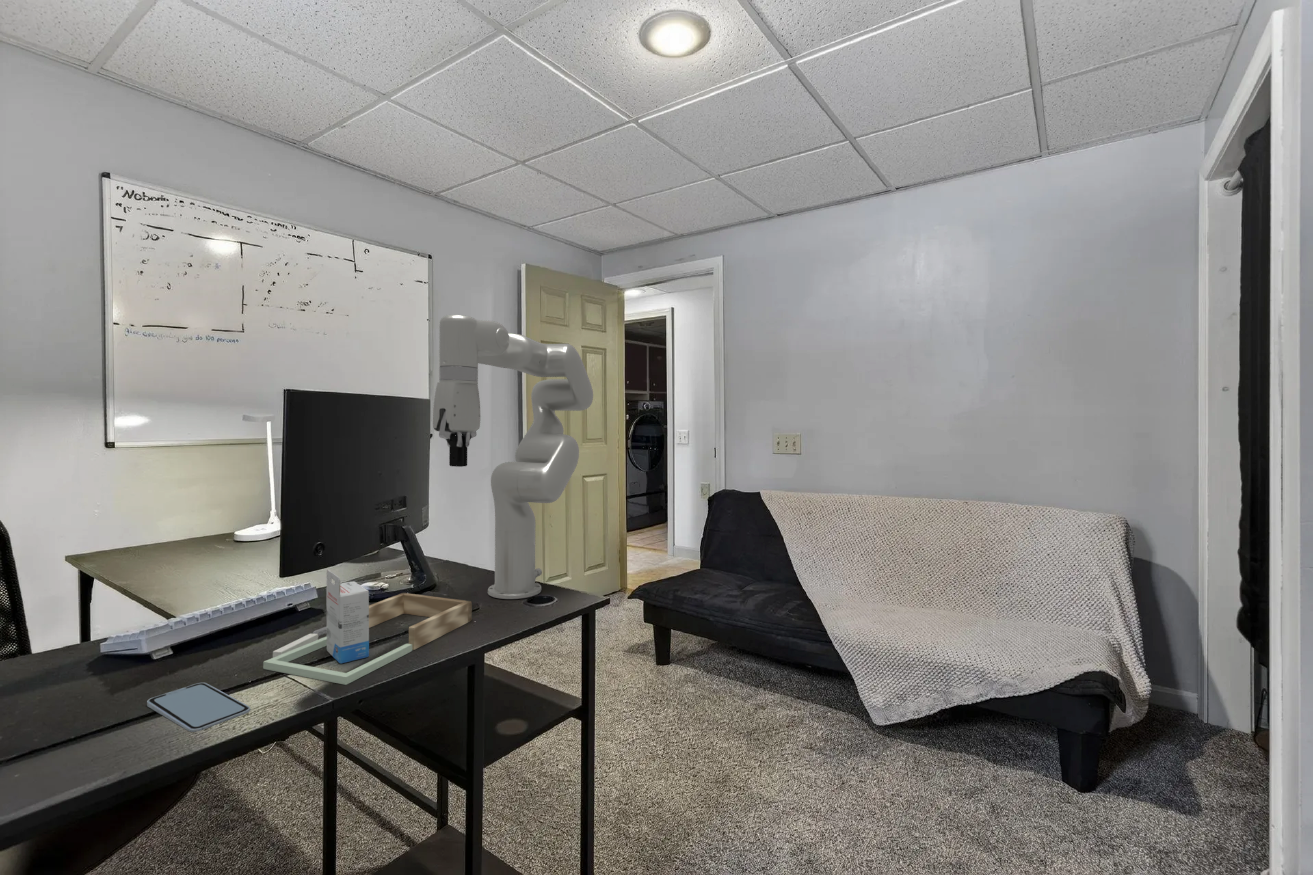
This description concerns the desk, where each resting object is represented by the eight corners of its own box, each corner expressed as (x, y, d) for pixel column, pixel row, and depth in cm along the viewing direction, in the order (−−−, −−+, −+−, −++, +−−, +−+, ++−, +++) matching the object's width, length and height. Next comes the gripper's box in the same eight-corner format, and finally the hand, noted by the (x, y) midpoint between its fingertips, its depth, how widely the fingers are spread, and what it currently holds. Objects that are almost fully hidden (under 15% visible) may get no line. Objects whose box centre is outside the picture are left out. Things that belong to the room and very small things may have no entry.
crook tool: (363, 617, 125) (363, 612, 125) (381, 620, 123) (382, 615, 123) (313, 636, 114) (313, 631, 114) (333, 640, 112) (333, 634, 112)
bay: (336, 638, 113) (336, 632, 113) (412, 650, 107) (412, 644, 107) (263, 668, 99) (263, 661, 99) (346, 684, 93) (346, 677, 93)
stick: (310, 641, 112) (310, 633, 112) (318, 642, 111) (318, 633, 111) (272, 660, 103) (272, 651, 103) (281, 661, 103) (281, 652, 103)
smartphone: (192, 731, 78) (144, 700, 86) (192, 738, 78) (144, 706, 86) (253, 708, 85) (203, 681, 92) (253, 714, 85) (203, 687, 92)
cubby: (403, 611, 129) (403, 592, 129) (471, 620, 124) (471, 601, 124) (338, 637, 113) (338, 616, 113) (414, 649, 108) (414, 627, 107)
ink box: (370, 657, 104) (370, 573, 104) (339, 665, 101) (339, 578, 100) (355, 643, 110) (355, 564, 110) (325, 650, 107) (325, 568, 107)
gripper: (465, 379, 131) (465, 463, 131) (418, 374, 116) (418, 468, 117) (495, 379, 128) (494, 464, 129) (450, 373, 114) (450, 469, 114)
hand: (458, 465), depth 123 cm, fingers closed
